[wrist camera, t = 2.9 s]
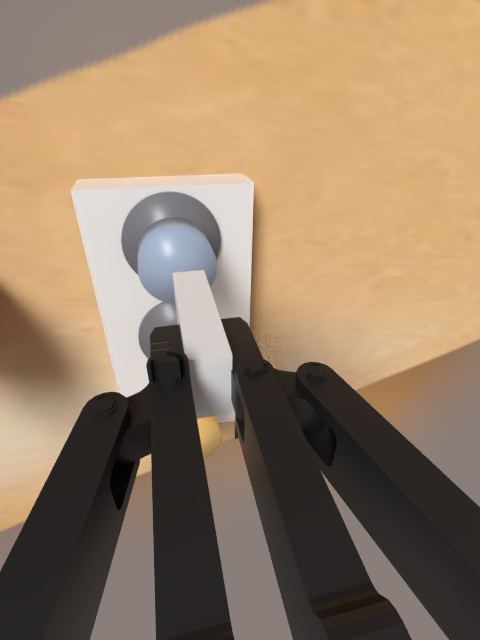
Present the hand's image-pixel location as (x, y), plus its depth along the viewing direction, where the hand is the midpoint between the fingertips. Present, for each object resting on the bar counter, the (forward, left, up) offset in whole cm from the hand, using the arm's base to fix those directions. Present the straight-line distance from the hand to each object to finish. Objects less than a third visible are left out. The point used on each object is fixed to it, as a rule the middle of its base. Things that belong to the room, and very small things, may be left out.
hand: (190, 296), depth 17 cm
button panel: (0, -8, -11) cm, 13 cm away
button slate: (0, 0, -6) cm, 6 cm away
